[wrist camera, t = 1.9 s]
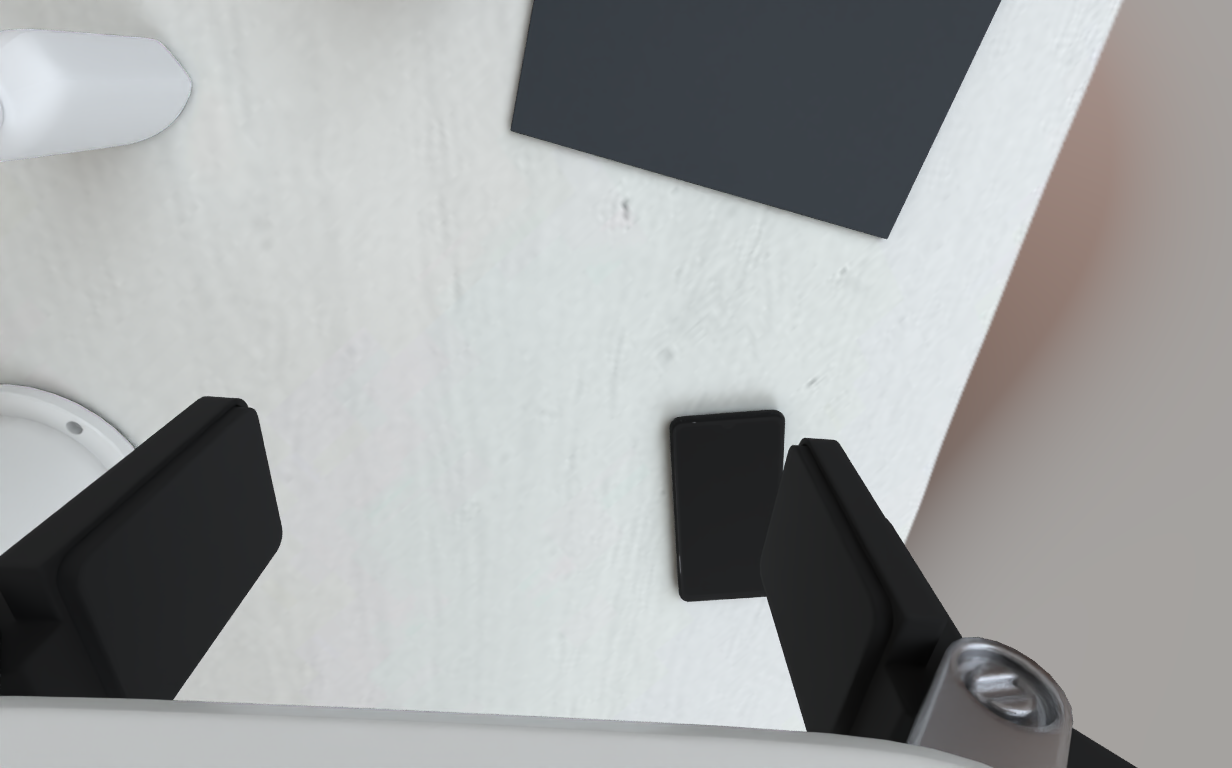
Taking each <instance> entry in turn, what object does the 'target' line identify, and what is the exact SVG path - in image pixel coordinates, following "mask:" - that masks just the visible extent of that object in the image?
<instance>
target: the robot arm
mask: <svg viewBox="0 0 1232 768" xmlns="http://www.w3.org/2000/svg"><path fill="white" fill-rule="evenodd" d="M281 540H282V525H281V521H280V516H279V511H278V507H277V502H276V497H275V493H274V488H273V484H272V479H271V474H270V470H269V465H268V460H267V456H266V451H265V446H264V442H263V437H262V433H261V428H260V423H259V419H258V415H257V412H256V411H255V410H254V409H253V408H248V405H247V404H246V402H245V401H244V400H242V399H239V398H225V397H210V396H205V397H202V398H200V399H198V400H197V401H195V402H194V403H193V404H192V405H190V406H189V407H188V408H187V409H185V410H184V411H183V412H182V413H180V414H179V415H178V416H176V417H175V418H174V419H173V420H171V421H170V422H169V423H168V424H166V425H165V426H164V427H163V428H161V429H160V430H159V431H157V432H156V433H155V434H154V435H152V436H151V437H150V438H149V439H147V440H146V441H145V442H144V443H142V444H141V445H140V446H138V447H137V448H136V449H134V447H133V446H132V445H131V443H130V442H129V441H128V440H127V439H126V438H125V437H124V436H122V435H121V434H120V433H119V432H118V431H117V430H116V429H115V428H114V427H113V426H111V425H110V424H109V423H107V422H106V421H105V420H103V419H102V418H101V417H99V416H98V415H97V414H95V413H93V412H91V411H90V410H88V409H86V408H84V407H83V406H81V405H79V404H77V403H75V402H73V401H70V400H68V399H66V398H63V397H61V396H59V395H56V394H54V393H50V392H46V391H43V390H39V389H36V388H32V387H26V386H18V385H11V384H0V768H1137V767H1135V766H1133V765H1132V764H1130V763H1129V762H1127V761H1125V760H1124V759H1122V758H1121V757H1119V756H1117V755H1115V754H1114V753H1112V752H1111V751H1109V750H1108V749H1106V748H1104V747H1103V746H1101V745H1099V744H1098V743H1096V742H1094V741H1093V740H1091V739H1090V738H1088V737H1086V736H1085V735H1083V734H1081V733H1080V732H1078V731H1077V730H1075V729H1073V728H1072V725H1073V717H1072V708H1071V705H1070V703H1069V701H1068V699H1067V697H1066V695H1065V693H1064V691H1063V690H1062V689H1061V687H1060V686H1059V685H1058V684H1057V683H1056V681H1055V680H1054V679H1053V678H1052V676H1051V675H1050V674H1049V673H1047V672H1046V671H1045V670H1044V669H1043V668H1042V667H1040V666H1039V665H1038V664H1037V663H1036V662H1035V661H1033V660H1032V659H1030V658H1029V657H1027V656H1025V655H1023V654H1022V653H1021V652H1019V651H1017V650H1015V649H1013V648H1011V647H1009V646H1007V645H1004V644H1002V643H999V642H997V641H993V640H989V639H984V638H980V637H968V638H962V636H961V634H960V633H959V631H958V630H957V628H956V627H955V625H954V623H953V622H952V620H951V619H950V617H949V615H948V614H947V612H946V611H945V609H944V607H943V606H942V604H941V602H940V601H939V599H938V598H937V596H936V595H935V593H934V591H933V590H932V588H931V587H930V585H929V583H928V582H927V580H926V579H925V577H924V576H923V574H922V572H921V571H920V569H919V567H918V566H917V564H916V563H915V561H914V559H913V558H912V556H911V555H910V553H909V551H908V550H907V548H906V547H905V545H904V543H903V542H902V540H901V539H900V537H899V535H898V534H897V532H896V531H895V529H894V527H893V526H892V524H891V523H890V522H889V521H888V520H887V518H885V516H884V515H883V513H882V511H881V510H880V508H879V507H878V505H877V503H876V502H875V500H874V499H873V497H872V495H871V494H870V492H869V491H868V489H867V487H866V486H865V484H864V482H863V481H862V479H861V478H860V476H859V474H858V473H857V471H856V470H855V468H854V466H853V465H852V463H851V462H850V460H849V458H848V457H847V455H846V453H845V452H844V450H843V449H842V447H841V445H840V444H839V443H838V442H837V441H836V440H828V439H813V438H804V439H802V440H801V442H800V443H799V445H792V446H791V447H790V449H789V451H788V454H787V458H786V462H785V466H784V470H783V474H782V477H781V481H780V485H779V489H778V493H777V497H776V500H775V504H774V508H773V512H772V516H771V520H770V524H769V527H768V531H767V535H766V539H765V543H764V547H763V551H762V554H761V559H760V575H761V580H762V583H763V586H764V590H765V593H766V596H767V600H768V603H769V606H770V610H771V613H772V616H773V620H774V623H775V627H776V630H777V633H778V637H779V640H780V643H781V647H782V650H783V653H784V657H785V660H786V663H787V667H788V670H789V673H790V677H791V680H792V683H793V687H794V690H795V693H796V697H797V700H798V703H799V707H800V710H801V713H802V717H803V720H804V723H805V727H806V730H807V732H802V731H788V730H774V729H759V728H745V727H730V726H715V725H695V724H676V723H657V722H638V721H619V720H600V719H580V718H561V717H542V716H520V715H499V714H478V713H457V712H436V711H414V710H392V709H370V708H348V707H326V706H301V705H277V704H252V703H228V702H203V701H179V700H173V699H174V698H175V696H176V695H177V693H178V692H179V691H180V689H181V688H182V686H183V685H184V683H185V682H186V681H187V679H188V678H189V676H190V675H191V673H192V672H193V671H194V669H195V668H196V666H197V665H198V663H199V662H200V661H201V659H202V658H203V656H204V655H205V653H206V652H207V650H208V649H209V648H210V646H211V645H212V643H213V642H214V640H215V639H216V638H217V636H218V635H219V633H220V632H221V630H222V629H223V628H224V626H225V625H226V623H227V622H228V620H229V619H230V618H231V616H232V615H233V613H234V612H235V610H236V609H237V608H238V606H239V605H240V603H241V602H242V600H243V599H244V598H245V596H246V595H247V593H248V592H249V590H250V589H251V588H252V586H253V585H254V583H255V582H256V580H257V579H258V578H259V576H260V575H261V573H262V572H263V570H264V569H265V567H266V566H267V565H268V563H269V562H270V560H271V559H272V557H273V556H274V555H275V553H276V552H277V550H278V548H279V546H280V543H281Z"/></svg>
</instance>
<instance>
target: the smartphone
mask: <svg viewBox="0 0 1232 768" xmlns="http://www.w3.org/2000/svg"><path fill="white" fill-rule="evenodd" d="M784 434H785V418H784V416H783V414H782V413H781V412H779V411H777V410H760V411H747V412H734V413H721V414H709V415H696V416H684V417H677V418H675V419H674V420H673V421H672V422H671V424H670V446H671V464H672V482H673V500H674V518H675V535H676V553H677V571H678V587H679V595H680V597H681V598H682V599H683V600H684V601H687V602H692V601H708V600H723V599H738V598H753V597H767V596H766V593H765V590H764V586H763V583H762V580H761V575H760V559H761V554H762V551H763V547H764V543H765V539H766V535H767V531H768V527H769V524H770V520H771V516H772V512H773V508H774V504H775V500H776V497H777V493H778V489H779V485H780V481H781V477H782V474H783V457H784Z"/></svg>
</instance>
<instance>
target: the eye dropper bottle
mask: <svg viewBox="0 0 1232 768" xmlns="http://www.w3.org/2000/svg"><path fill="white" fill-rule="evenodd" d="M191 89H192V81H191V79H190V77H189V75H188V73H187V72H186V71H185V70H184V68H183V67H182V66H181V65H180V63H179V62H178V61H177V60H176V58H175V57H174V56H173V55H172V54H171V52H170V51H169V50H168V49H167V48H166V47H165V46H164V45H163V44H162V43H161V42H159V41H158V40H155V39H151V38H143V37H132V36H120V35H108V34H96V33H83V32H70V31H57V30H40V29H11V30H3V31H0V162H4V161H13V160H21V159H29V158H37V157H44V156H51V155H58V154H66V153H73V152H80V151H87V150H94V149H101V148H108V147H115V146H122V145H127V144H132V143H136V142H139V141H142V140H145V139H148V138H150V137H152V136H154V135H156V134H158V133H160V132H161V131H163V130H164V129H165V128H167V127H168V126H169V125H170V124H171V123H172V122H173V121H174V120H175V119H176V118H177V117H178V116H179V114H180V113H181V111H182V110H183V108H184V106H185V104H186V102H187V100H188V98H189V96H190V93H191Z"/></svg>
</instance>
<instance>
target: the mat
mask: <svg viewBox="0 0 1232 768" xmlns="http://www.w3.org/2000/svg"><path fill="white" fill-rule="evenodd" d="M1000 2H1001V0H534V3H533V9H532V14H531V20H530V25H529V31H528V36H527V42H526V47H525V53H524V59H523V64H522V70H521V75H520V81H519V86H518V92H517V97H516V103H515V109H514V114H513V120H512V125H511V131H513V132H517V133H520V134H524V135H527V136H531V137H534V138H538V139H541V140H545V141H548V142H552V143H555V144H559V145H562V146H565V147H569V148H572V149H576V150H579V151H583V152H586V153H590V154H593V155H597V156H600V157H604V158H607V159H611V160H614V161H617V162H621V163H624V164H628V165H631V166H635V167H638V168H642V169H645V170H649V171H652V172H656V173H659V174H663V175H666V176H669V177H673V178H676V179H680V180H683V181H687V182H690V183H694V184H697V185H701V186H704V187H708V188H711V189H715V190H718V191H721V192H725V193H728V194H732V195H735V196H739V197H742V198H746V199H749V200H753V201H756V202H760V203H763V204H767V205H770V206H773V207H777V208H780V209H784V210H787V211H791V212H794V213H798V214H801V215H805V216H808V217H812V218H815V219H819V220H822V221H825V222H829V223H832V224H836V225H839V226H843V227H846V228H850V229H853V230H857V231H860V232H864V233H867V234H871V235H874V236H877V237H881V238H884V239H887V238H888V236H889V234H890V232H891V230H892V228H893V226H894V224H895V222H896V220H897V217H898V215H899V213H900V211H901V209H902V207H903V205H904V203H905V201H906V199H907V197H908V194H909V192H910V190H911V188H912V186H913V184H914V182H915V180H916V178H917V176H918V174H919V171H920V169H921V167H922V165H923V163H924V161H925V159H926V157H927V155H928V153H929V150H930V148H931V146H932V144H933V142H934V140H935V138H936V136H937V134H938V132H939V130H940V127H941V125H942V123H943V121H944V119H945V117H946V115H947V113H948V111H949V109H950V106H951V104H952V102H953V100H954V98H955V96H956V94H957V92H958V90H959V88H960V86H961V83H962V81H963V79H964V77H965V75H966V73H967V71H968V69H969V67H970V65H971V62H972V60H973V58H974V56H975V54H976V52H977V50H978V48H979V46H980V44H981V42H982V39H983V37H984V35H985V33H986V31H987V29H988V27H989V25H990V23H991V21H992V18H993V16H994V14H995V12H996V10H997V8H998V6H999V4H1000Z"/></svg>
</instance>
